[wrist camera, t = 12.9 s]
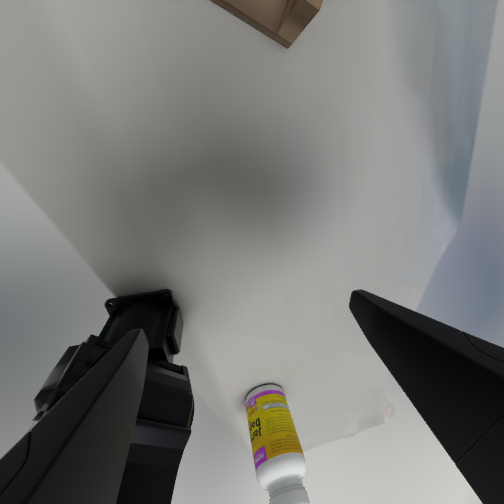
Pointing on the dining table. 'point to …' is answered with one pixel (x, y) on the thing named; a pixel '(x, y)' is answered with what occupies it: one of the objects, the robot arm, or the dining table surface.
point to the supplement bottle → (276, 446)
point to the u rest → (275, 16)
